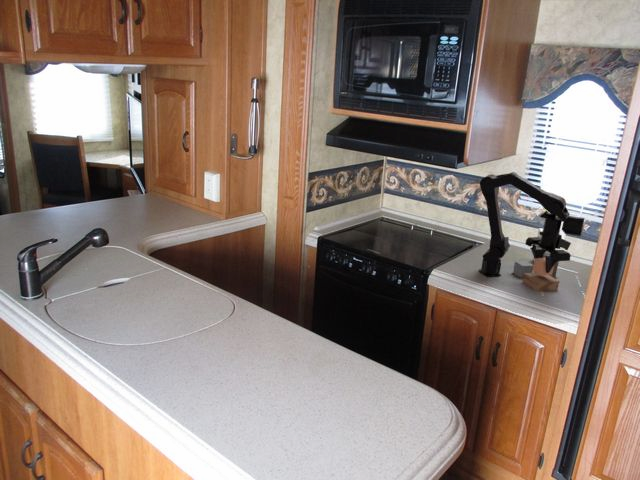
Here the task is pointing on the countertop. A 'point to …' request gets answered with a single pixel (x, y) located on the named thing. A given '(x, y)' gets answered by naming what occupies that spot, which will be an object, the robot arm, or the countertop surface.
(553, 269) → the swatch sign
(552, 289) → the base block
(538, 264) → the terracotta cube
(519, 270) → the slate cube
